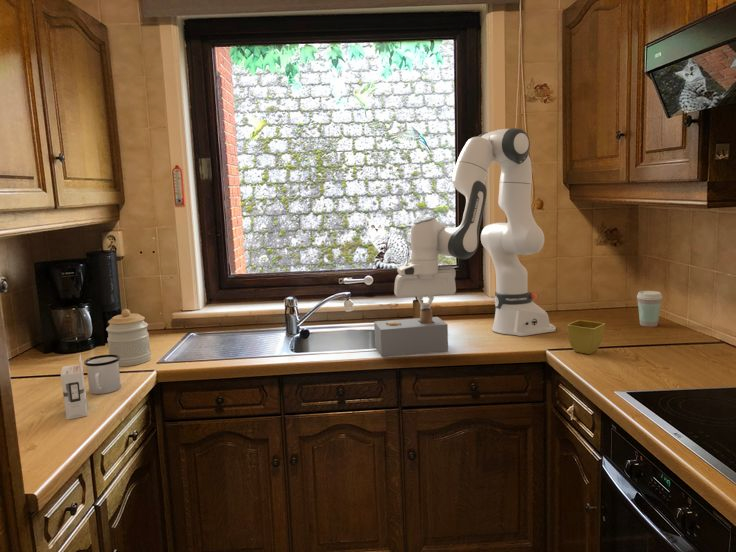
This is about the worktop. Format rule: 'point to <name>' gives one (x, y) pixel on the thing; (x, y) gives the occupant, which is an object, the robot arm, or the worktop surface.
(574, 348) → the flower pot
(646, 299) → the coffee cup
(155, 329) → the worktop surface
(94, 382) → the mug
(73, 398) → the ink box
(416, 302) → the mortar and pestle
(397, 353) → the socket block
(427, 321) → the walnut dowel
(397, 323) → the beech dowel
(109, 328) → the jar
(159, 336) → the worktop surface
